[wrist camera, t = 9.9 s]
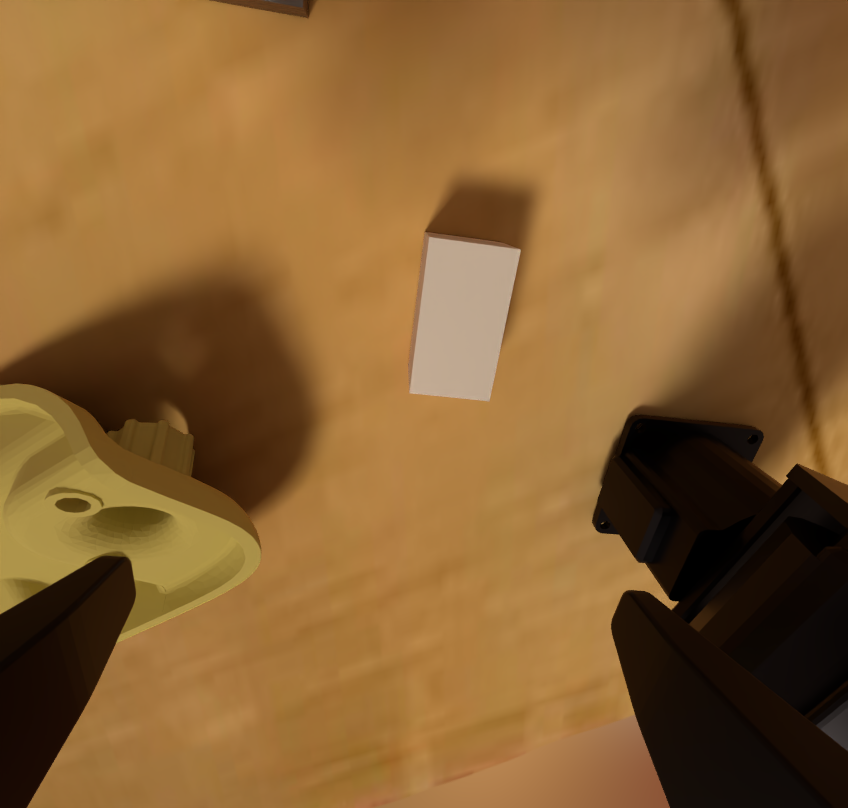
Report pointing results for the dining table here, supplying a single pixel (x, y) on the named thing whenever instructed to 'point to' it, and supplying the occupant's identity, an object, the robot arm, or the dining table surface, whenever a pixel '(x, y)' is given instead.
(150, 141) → the dining table surface
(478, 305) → the white rectangular block
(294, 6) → the chassis
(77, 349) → the dining table surface
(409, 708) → the dining table surface
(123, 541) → the plastic component
